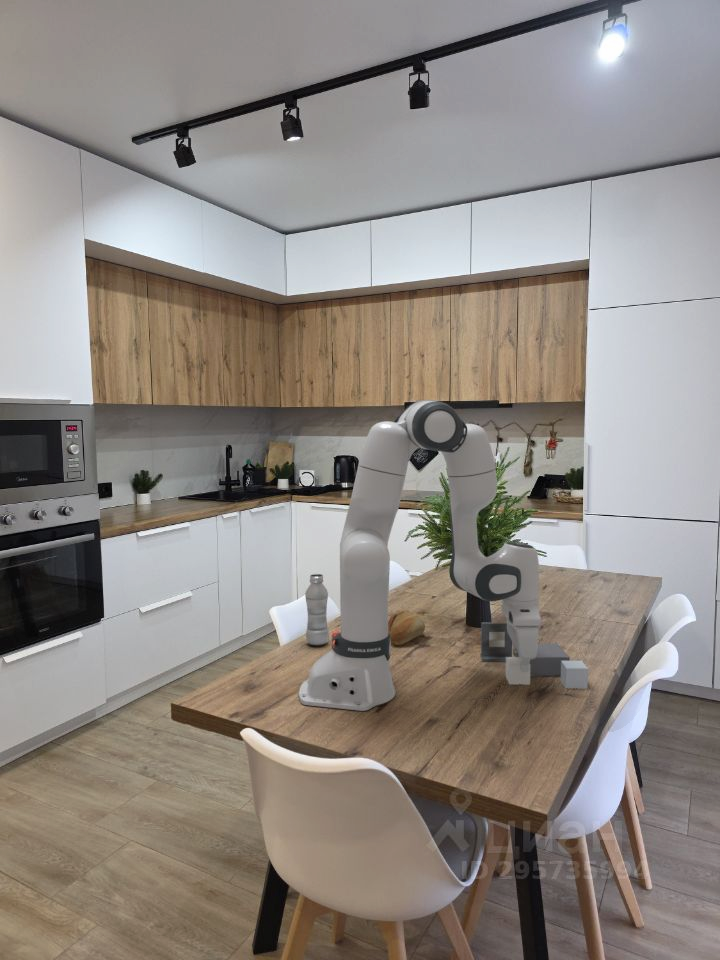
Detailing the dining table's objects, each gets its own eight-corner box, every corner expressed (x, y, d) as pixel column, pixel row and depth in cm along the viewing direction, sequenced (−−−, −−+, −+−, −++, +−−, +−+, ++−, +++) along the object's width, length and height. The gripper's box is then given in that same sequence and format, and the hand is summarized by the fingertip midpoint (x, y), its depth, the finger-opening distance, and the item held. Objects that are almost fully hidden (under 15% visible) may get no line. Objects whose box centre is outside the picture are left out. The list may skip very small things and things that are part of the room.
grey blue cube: (566, 688, 155) (566, 668, 154) (560, 680, 160) (561, 660, 159) (587, 689, 155) (587, 668, 154) (581, 680, 160) (581, 660, 159)
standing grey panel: (482, 661, 172) (482, 625, 171) (480, 656, 176) (480, 620, 175) (512, 661, 172) (513, 625, 171) (510, 656, 176) (510, 620, 175)
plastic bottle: (334, 643, 187) (333, 575, 185) (316, 650, 182) (315, 579, 180) (318, 638, 191) (317, 571, 189) (301, 644, 186) (299, 575, 184)
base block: (529, 677, 162) (529, 657, 162) (518, 662, 172) (519, 643, 172) (569, 676, 163) (569, 657, 162) (556, 661, 173) (557, 643, 172)
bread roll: (378, 644, 186) (378, 617, 185) (402, 629, 199) (401, 604, 198) (408, 650, 181) (408, 622, 180) (430, 634, 194) (431, 608, 193)
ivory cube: (509, 684, 158) (509, 664, 157) (505, 676, 163) (505, 657, 162) (530, 684, 157) (530, 664, 157) (525, 676, 162) (526, 657, 162)
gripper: (500, 596, 168) (501, 648, 170) (514, 621, 148) (514, 680, 150) (525, 596, 168) (525, 648, 169) (542, 621, 148) (542, 680, 149)
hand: (520, 663), depth 159 cm, fingers open, 8 cm apart
